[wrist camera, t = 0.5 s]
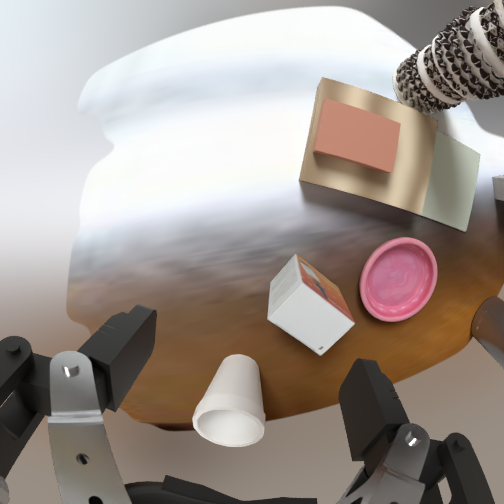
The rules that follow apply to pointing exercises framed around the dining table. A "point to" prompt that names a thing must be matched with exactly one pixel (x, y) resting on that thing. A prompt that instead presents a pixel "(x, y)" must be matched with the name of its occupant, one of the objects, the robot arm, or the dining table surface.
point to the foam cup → (232, 404)
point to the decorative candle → (456, 63)
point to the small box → (308, 306)
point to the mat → (451, 182)
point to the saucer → (398, 279)
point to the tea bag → (498, 187)
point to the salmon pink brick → (357, 136)
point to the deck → (366, 179)
